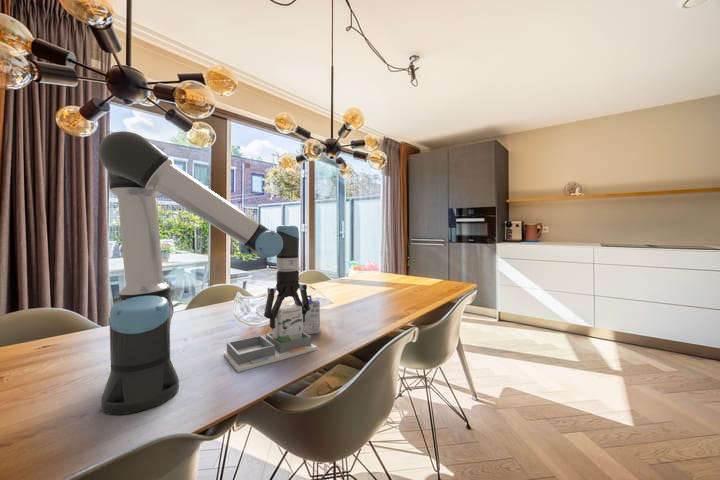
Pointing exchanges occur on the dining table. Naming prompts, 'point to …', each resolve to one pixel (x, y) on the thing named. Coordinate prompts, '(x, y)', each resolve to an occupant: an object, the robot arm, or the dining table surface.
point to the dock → (264, 350)
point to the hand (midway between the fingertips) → (287, 334)
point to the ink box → (289, 323)
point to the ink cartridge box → (312, 317)
